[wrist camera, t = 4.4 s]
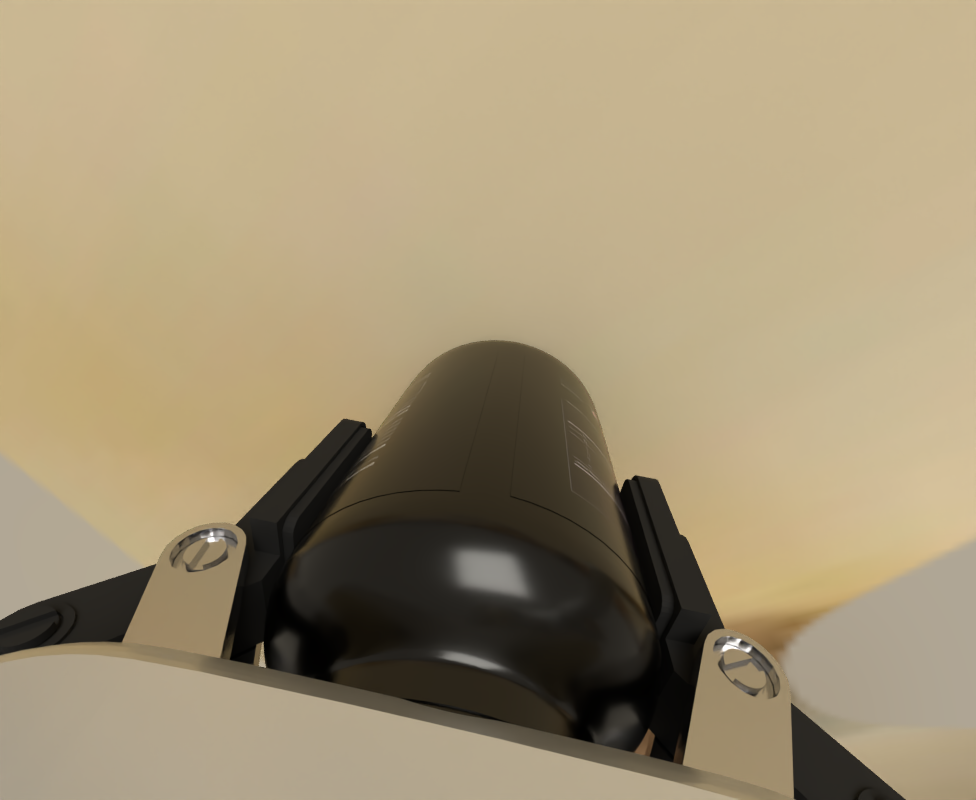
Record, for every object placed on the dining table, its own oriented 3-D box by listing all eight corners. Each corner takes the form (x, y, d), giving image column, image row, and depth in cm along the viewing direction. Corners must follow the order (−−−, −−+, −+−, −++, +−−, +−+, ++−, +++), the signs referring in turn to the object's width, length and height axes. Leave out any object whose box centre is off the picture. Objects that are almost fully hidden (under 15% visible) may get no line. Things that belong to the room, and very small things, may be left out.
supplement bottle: (455, 521, 17) (289, 1097, 6) (373, 374, 14) (-159, 898, 3) (624, 478, 15) (835, 1215, 4) (563, 301, 12) (675, 954, 2)
